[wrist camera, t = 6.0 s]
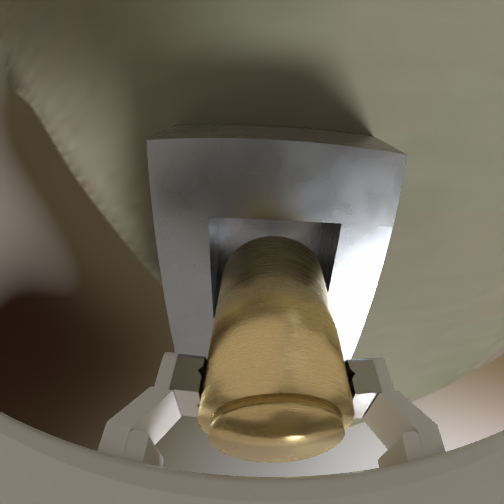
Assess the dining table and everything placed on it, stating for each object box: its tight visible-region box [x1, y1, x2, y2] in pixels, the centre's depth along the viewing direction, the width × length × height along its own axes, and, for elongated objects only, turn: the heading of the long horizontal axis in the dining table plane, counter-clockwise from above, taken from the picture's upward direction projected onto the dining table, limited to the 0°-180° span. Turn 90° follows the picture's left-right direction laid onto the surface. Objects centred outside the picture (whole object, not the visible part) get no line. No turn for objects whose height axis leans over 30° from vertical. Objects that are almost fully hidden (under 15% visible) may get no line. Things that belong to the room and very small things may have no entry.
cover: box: [198, 236, 355, 463], centre depth 12 cm, size 5×5×9 cm
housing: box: [146, 124, 407, 361], centre depth 18 cm, size 14×12×5 cm
